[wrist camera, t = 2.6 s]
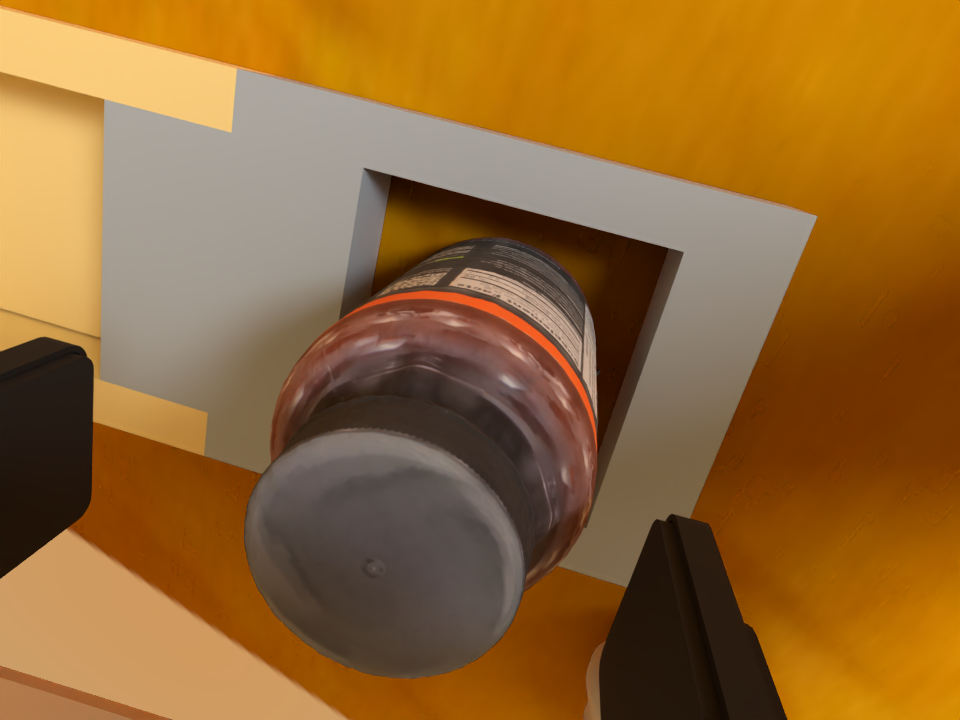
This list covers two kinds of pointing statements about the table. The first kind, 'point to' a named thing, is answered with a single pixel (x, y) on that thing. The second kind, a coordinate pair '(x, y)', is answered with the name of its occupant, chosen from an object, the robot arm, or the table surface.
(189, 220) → the beige and grey tray
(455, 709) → the table surface
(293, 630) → the supplement bottle
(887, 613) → the table surface
